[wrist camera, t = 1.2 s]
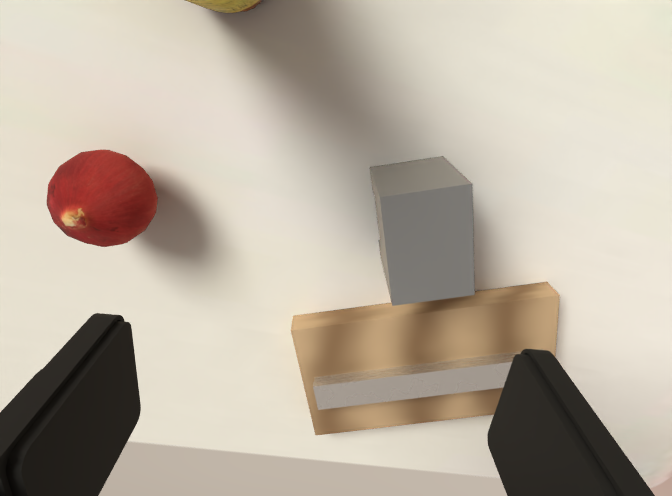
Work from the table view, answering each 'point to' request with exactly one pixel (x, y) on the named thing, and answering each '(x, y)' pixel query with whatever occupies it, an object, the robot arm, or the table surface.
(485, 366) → the rail
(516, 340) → the mounting board
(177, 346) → the table surface
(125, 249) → the table surface
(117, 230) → the red oval fruit
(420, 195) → the block
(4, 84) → the table surface
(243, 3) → the sauce bottle
